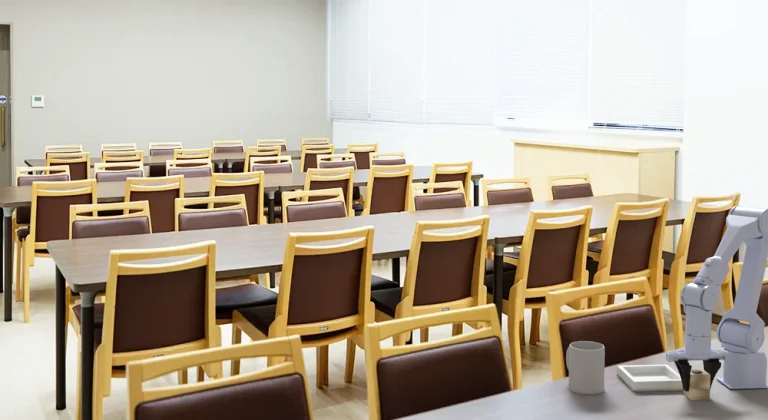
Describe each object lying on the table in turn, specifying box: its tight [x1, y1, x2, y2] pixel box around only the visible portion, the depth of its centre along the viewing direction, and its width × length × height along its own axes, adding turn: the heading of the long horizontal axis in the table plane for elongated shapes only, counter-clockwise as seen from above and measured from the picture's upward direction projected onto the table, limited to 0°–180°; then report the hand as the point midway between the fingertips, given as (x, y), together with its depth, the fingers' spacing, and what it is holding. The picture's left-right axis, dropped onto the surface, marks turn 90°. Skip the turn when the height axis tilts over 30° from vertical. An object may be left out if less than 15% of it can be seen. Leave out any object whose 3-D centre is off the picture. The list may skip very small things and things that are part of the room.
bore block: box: [682, 368, 711, 401], centre depth 199 cm, size 4×4×6 cm
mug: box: [565, 340, 606, 396], centre depth 206 cm, size 12×8×11 cm
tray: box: [616, 364, 683, 393], centre depth 210 cm, size 13×13×2 cm
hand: (696, 389), depth 199 cm, fingers closed on bore block, 4 cm apart
